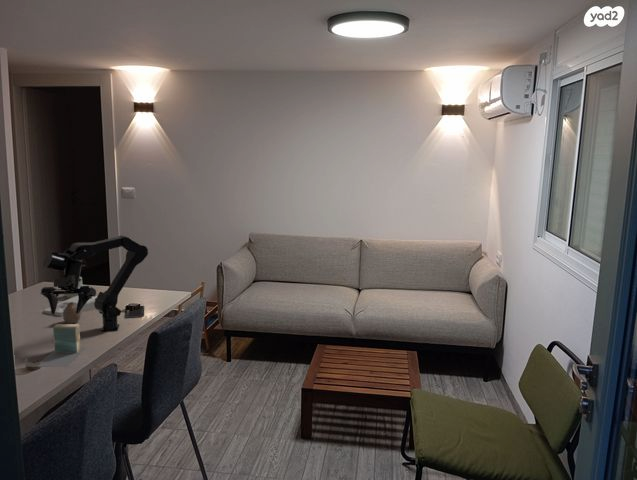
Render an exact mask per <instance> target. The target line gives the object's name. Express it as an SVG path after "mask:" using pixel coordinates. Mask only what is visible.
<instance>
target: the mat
mask: <svg viewBox="0 0 637 480" xmlns="http://www.w3.org/2000/svg"><path fill="white" fill-rule="evenodd" d="M86 349H87V348H86V347H81V350H80V351H79V352H78V353H55V349H54V350H53V351H51V352H50V353H49V354H47V356H45V358H43V359H42V360H41V361H40V362H39V363H40V365H38V364H37V365H38V366H37V365H36V366H35V367H37V368H38V367H44V368H45V367H70V366H71V365H72V363H74V362H75V361H76V359H78V358H79V356H81V354H82V353H83V352H85V350H86Z"/></svg>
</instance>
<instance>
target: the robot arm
mask: <svg viewBox="0 0 637 480" xmlns="http://www.w3.org/2000/svg"><path fill="white" fill-rule="evenodd" d="M121 247H122V248H123V249H124V250H126V254H125V261H124V262H123V264H122V266H121V267H120V269H119V270H118V272H117V274H116V275H115V277H114V279H113V280H112V282H111V283H110V284H109V286H108V288H107V290H105V291H104V292H102V291H99V293H97V290H96V289H95V288H94V287H92V286H91V285H84V286H81V287H80V288H79V289H78V284H79V282H81V279H80V277H81V272H82V271H81V270H82V268H84V267H86V266H88V263H87V262H86V261H85V260H86V259H89V258H90V257H92V256H94V255H95V254H97V253H100V252H103V251H104V252H105V251H108V250H112V249H116V248H117V249H118V248H121ZM148 255H149V250H148V247H147V246H146V245H144V244H139V243H138V242H136V241H134V240H133V239H131V238H130V237H128V236H126V235H118V236H116V237H111V238H106V239H102V240H97V241H93V242H75V243H72V244H71V245H70V247H69V248H67V249H66V250H65V251H64V252H61V253H59V252H57V251H54V250H50V251H49V253H48V254H47V255H46V257H44V259H43V264H42V266H43V268H45V269H48V270H52V271H55V272H62V271H63V274H61V275H60V277H58V278H57V277H56V278H53V286H44V287H42V289H41V290H40V295H42V296H43V297H45V299H46V298H47V300H48V303H49V307H50V308H51V313H52V314H54V313H55V311H56V307H57V304H58V302H59V298H58V297H59V295H65V294H78V298H79V299H78V304H77V309H76V313H77V314H78V313H79V312H80V311H81V309H82V308H83V306H84V305H85V304H86V302H87V301H88V300H89V299H92V297H95V296H97V298H96V299H95V303H94V306H95V308H96V309H95V310H97V311H98V313H99V314H100V315H102V316H101V317H102V327H101V330H100V331H101V332H113V331H118V330H119V328H120V324H119V323H118V317H120V316H121V313H122V310H121V309H120V308H118V307H117V304H118V299H119V295H120V293H121V292H122V289H123V288H124V286H125V284H126V283H127V281H128V279H129V278H130V277H131V275H132V273H133V271H134V270H135V268H136V267H137V266H138V265H139V264H141V263H142V262H144V260H145V259H146V258H147V256H148ZM57 288H58V289H57ZM96 294H97V295H96Z"/></svg>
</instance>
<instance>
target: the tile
mask: <svg viewBox="0 0 637 480" xmlns="http://www.w3.org/2000/svg"><path fill="white" fill-rule="evenodd" d="M52 331H53V345H54V350H55V353H78V352H79V351H80V350H81V348H82V347H81V336H80V335H81V334H80V324H79V323H74V324H68V323H64V324H63V323H62V324H61V323H59V324H58V323H56V324H55V325H54V326H53V327H52Z"/></svg>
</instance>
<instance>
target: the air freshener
mask: <svg viewBox="0 0 637 480" xmlns="http://www.w3.org/2000/svg"><path fill="white" fill-rule="evenodd" d="M80 279H81V282H79V284H78V289H79V288H80V287H81V286H85V284H83V277H82V276H80ZM64 295H65V296H66V297H67V298H68V299H70V298H73V297H75V296H78V294H64Z"/></svg>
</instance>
